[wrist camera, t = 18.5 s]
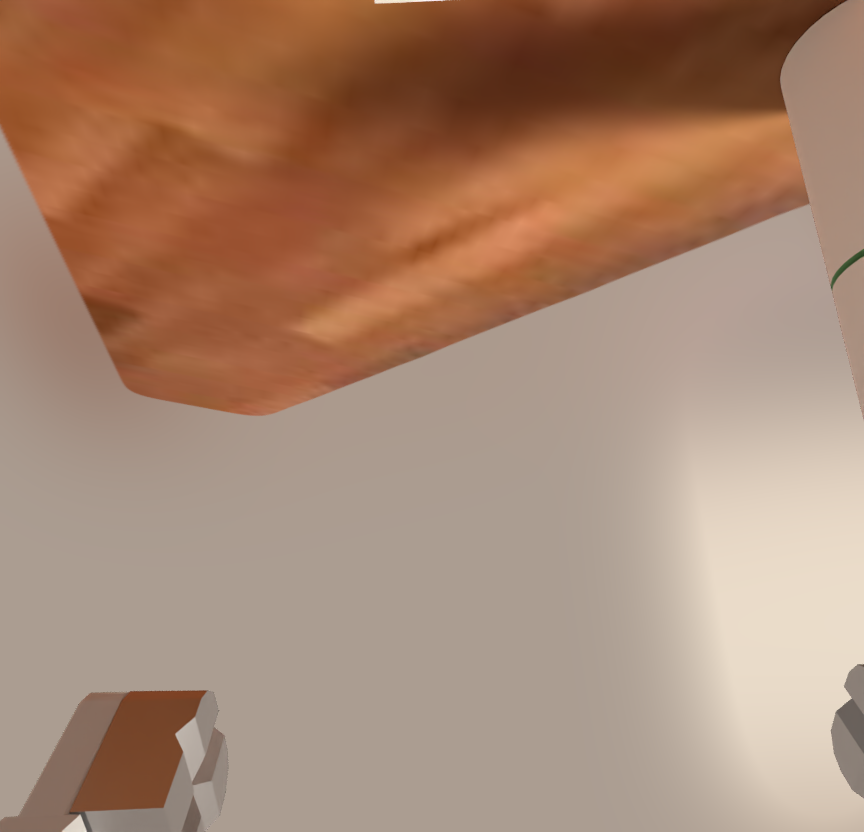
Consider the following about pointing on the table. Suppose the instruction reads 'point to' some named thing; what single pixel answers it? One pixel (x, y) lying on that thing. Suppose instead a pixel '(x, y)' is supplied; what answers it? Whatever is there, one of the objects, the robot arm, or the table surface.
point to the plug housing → (396, 0)
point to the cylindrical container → (834, 156)
